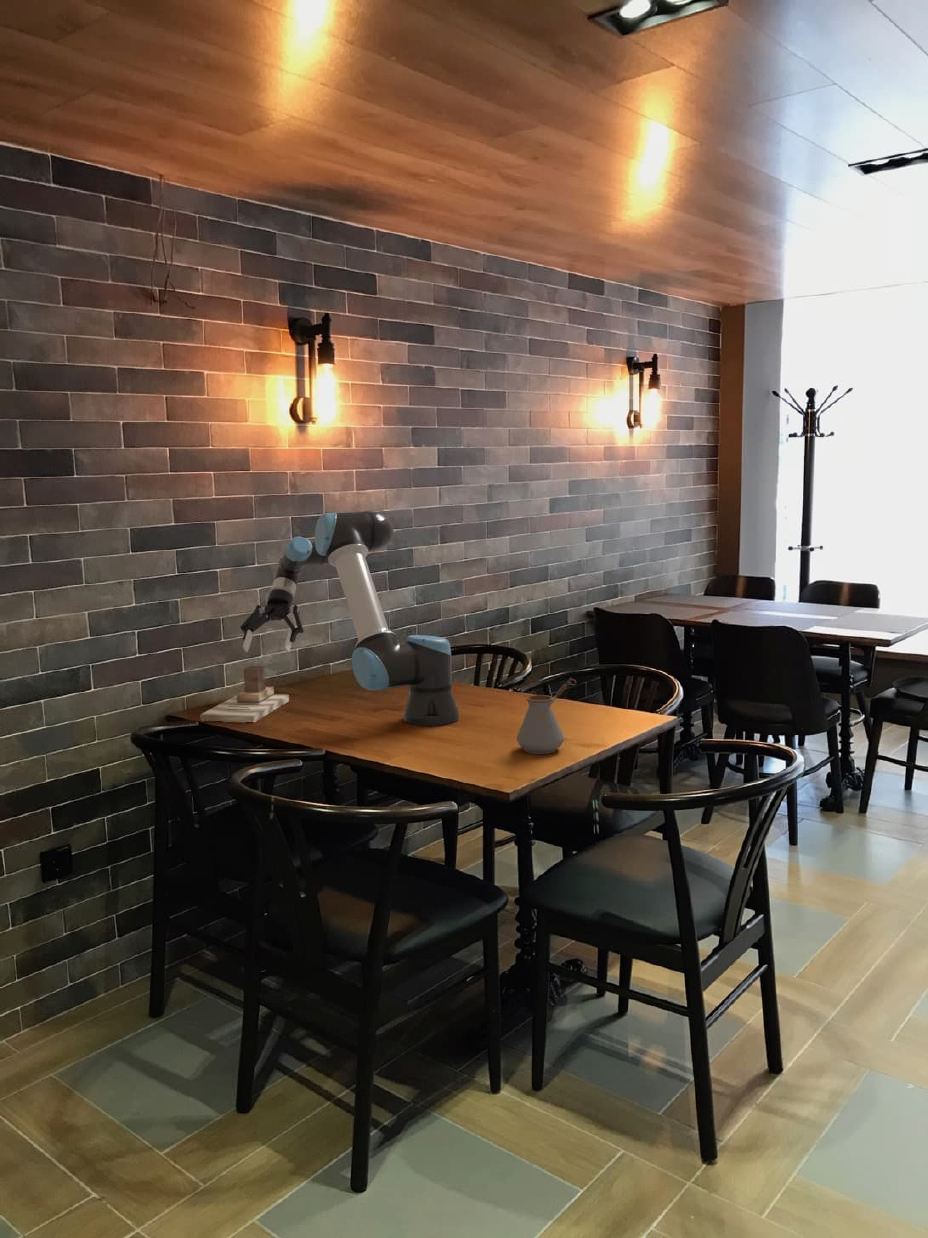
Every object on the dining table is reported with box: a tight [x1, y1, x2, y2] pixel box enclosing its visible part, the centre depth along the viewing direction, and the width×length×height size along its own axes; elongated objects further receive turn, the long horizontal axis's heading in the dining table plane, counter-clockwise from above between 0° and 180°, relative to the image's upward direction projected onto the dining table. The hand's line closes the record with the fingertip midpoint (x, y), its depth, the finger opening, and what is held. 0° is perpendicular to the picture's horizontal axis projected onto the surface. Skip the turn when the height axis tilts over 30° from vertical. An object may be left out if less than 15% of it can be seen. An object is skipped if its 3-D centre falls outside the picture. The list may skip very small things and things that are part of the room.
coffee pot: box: [516, 677, 577, 755], centre depth 239 cm, size 21×12×15 cm, turn 143°
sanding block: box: [236, 665, 275, 703], centre depth 292 cm, size 11×7×10 cm, turn 168°
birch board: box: [199, 693, 290, 723], centre depth 286 cm, size 26×16×2 cm, turn 168°
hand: (265, 650), depth 300 cm, fingers open, 13 cm apart
